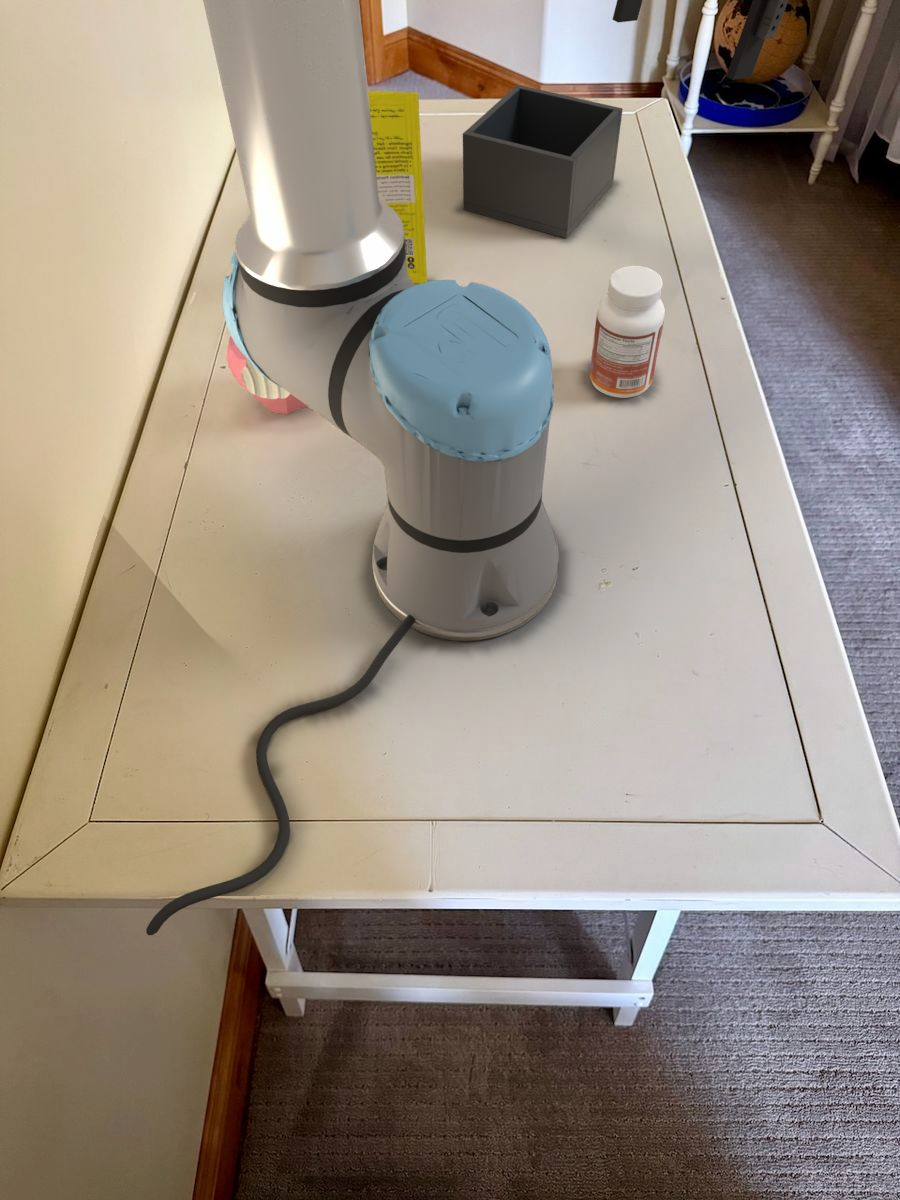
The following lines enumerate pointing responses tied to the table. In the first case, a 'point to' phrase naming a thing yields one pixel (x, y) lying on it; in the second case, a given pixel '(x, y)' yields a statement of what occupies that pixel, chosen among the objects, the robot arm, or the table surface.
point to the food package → (401, 169)
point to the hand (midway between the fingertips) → (679, 47)
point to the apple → (260, 383)
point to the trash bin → (540, 159)
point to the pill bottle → (628, 332)
